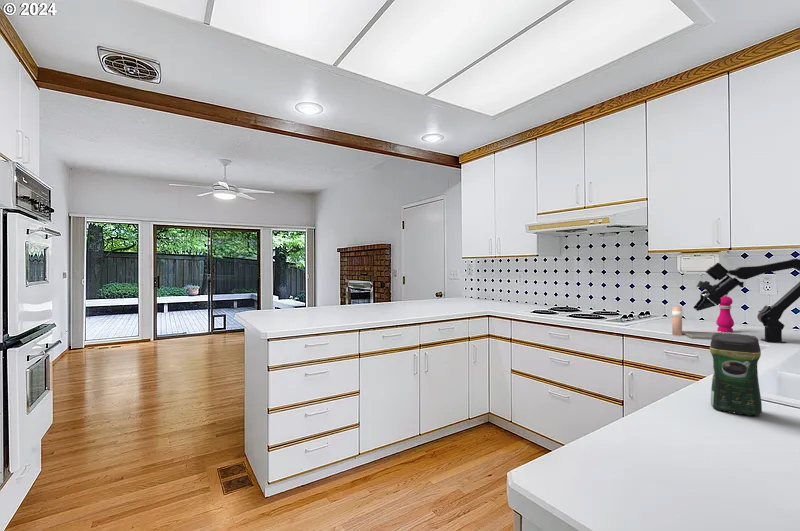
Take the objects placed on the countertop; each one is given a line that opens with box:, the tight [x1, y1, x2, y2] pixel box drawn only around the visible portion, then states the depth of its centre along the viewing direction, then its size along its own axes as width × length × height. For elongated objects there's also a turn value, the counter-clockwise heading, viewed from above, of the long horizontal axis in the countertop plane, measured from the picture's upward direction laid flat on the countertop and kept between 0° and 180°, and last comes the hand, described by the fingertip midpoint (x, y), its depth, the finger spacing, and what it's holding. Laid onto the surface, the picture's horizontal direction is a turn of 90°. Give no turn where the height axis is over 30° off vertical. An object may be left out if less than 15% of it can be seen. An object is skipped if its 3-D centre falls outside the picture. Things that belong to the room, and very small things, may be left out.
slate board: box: [682, 330, 722, 340], centre depth 195 cm, size 16×18×1 cm
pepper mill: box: [716, 294, 735, 333], centre depth 209 cm, size 7×7×20 cm
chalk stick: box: [671, 305, 683, 337], centre depth 200 cm, size 4×4×14 cm
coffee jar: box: [709, 332, 763, 416], centre depth 98 cm, size 10×8×19 cm
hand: (695, 309), depth 197 cm, fingers open, 9 cm apart
